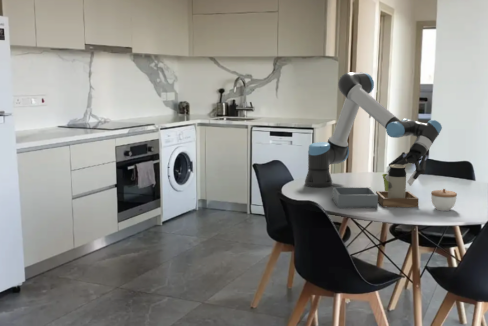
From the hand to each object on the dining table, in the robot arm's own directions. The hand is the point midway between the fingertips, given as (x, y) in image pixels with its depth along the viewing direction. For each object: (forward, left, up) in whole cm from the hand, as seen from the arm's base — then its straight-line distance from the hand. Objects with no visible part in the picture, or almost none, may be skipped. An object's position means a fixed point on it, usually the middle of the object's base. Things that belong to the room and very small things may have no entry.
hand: (397, 181), depth 252 cm
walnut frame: (0, 0, -10) cm, 10 cm away
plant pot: (-27, +4, -11) cm, 30 cm away
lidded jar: (+12, +18, -11) cm, 24 cm away
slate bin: (+1, -20, -10) cm, 23 cm away
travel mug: (0, 0, -11) cm, 11 cm away
